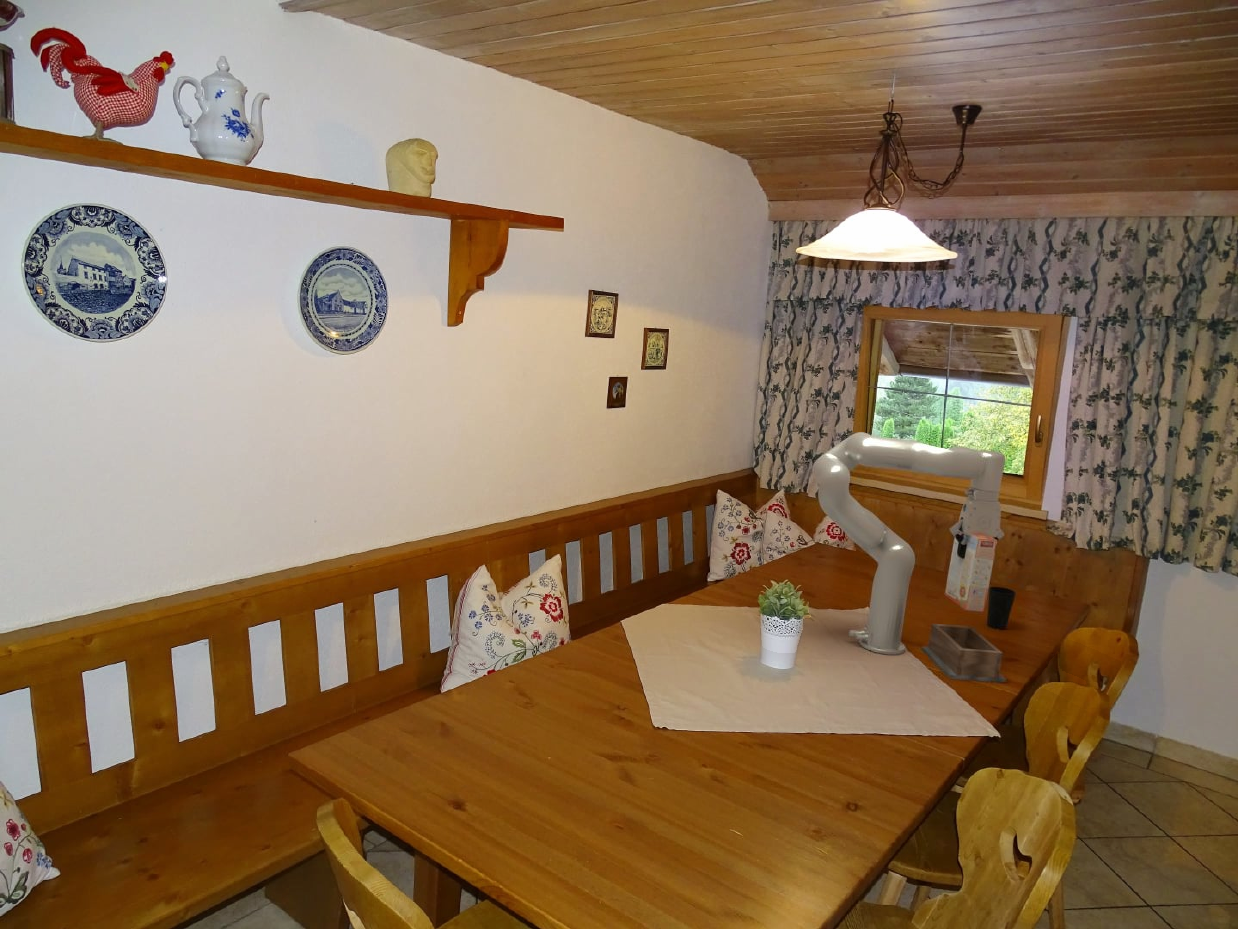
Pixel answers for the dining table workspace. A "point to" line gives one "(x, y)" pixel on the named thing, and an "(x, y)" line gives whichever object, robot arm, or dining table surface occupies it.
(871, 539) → the robot arm
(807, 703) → the dining table surface
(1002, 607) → the cup
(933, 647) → the box stand
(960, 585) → the cracker box
